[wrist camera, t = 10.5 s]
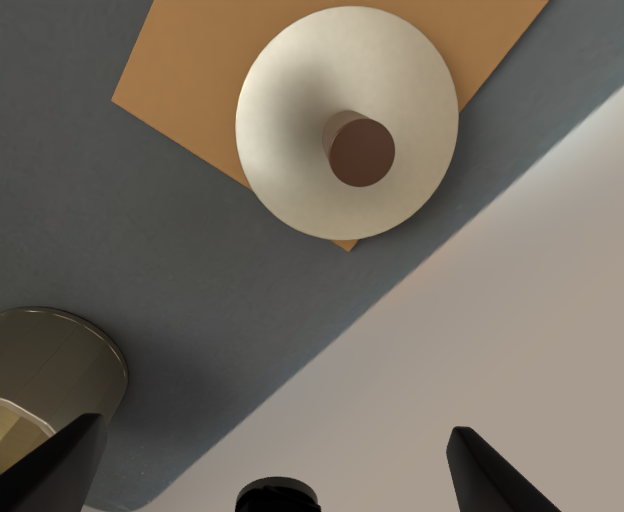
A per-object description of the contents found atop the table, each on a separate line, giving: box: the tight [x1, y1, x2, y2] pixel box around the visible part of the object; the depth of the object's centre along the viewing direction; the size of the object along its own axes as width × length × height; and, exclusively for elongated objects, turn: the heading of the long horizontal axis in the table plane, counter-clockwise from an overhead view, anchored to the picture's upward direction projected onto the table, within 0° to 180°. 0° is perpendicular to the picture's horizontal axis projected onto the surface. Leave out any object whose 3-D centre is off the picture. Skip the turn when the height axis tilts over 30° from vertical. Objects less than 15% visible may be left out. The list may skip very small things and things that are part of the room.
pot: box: [0, 307, 128, 474], centre depth 21 cm, size 9×9×6 cm
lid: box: [235, 5, 459, 240], centre depth 16 cm, size 10×10×6 cm
